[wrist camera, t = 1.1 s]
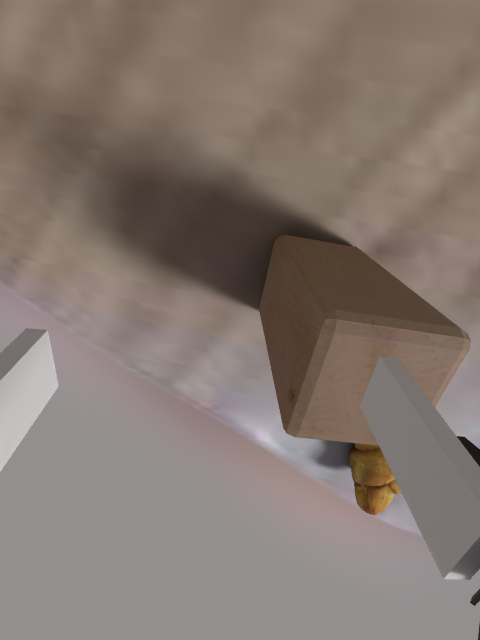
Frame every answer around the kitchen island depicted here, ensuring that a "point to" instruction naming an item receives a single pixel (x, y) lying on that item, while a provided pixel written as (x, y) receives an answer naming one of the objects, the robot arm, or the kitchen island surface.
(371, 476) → the bread roll
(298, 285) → the wooden block
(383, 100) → the kitchen island surface
